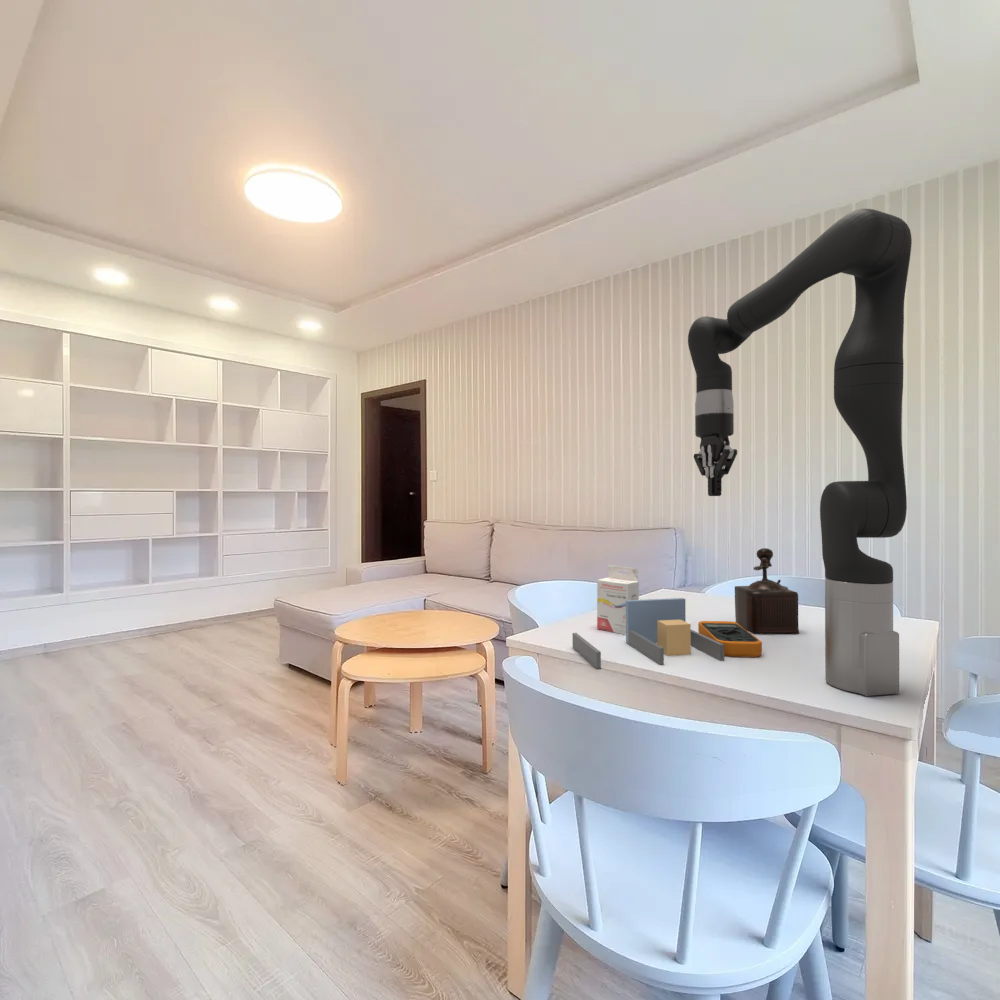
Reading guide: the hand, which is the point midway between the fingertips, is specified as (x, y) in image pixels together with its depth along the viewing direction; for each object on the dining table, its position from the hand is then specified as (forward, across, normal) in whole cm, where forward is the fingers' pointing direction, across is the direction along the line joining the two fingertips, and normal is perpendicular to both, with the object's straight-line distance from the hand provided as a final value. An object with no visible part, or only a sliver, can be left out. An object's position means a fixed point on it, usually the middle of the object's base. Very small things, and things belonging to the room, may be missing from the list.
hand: (714, 495), depth 113 cm
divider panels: (+31, -4, +18) cm, 36 cm away
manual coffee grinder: (+31, +11, -19) cm, 38 cm away
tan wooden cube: (+31, -5, +12) cm, 34 cm away
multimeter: (+32, -2, -2) cm, 32 cm away
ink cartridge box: (+31, +14, +16) cm, 38 cm away
